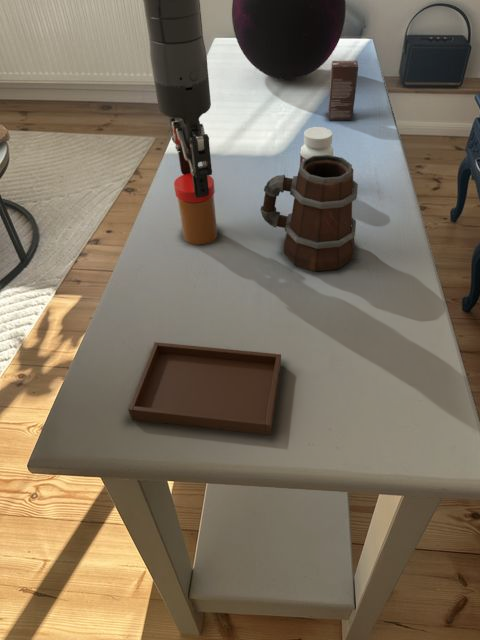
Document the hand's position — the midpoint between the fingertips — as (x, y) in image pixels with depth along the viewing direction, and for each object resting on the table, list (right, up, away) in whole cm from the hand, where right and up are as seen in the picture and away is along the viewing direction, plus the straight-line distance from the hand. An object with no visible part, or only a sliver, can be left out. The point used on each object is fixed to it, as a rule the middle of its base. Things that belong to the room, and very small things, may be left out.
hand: (194, 184), depth 78 cm
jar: (0, -7, +7) cm, 10 cm away
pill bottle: (+21, +5, +17) cm, 28 cm away
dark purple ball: (+18, +52, +61) cm, 82 cm away
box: (+30, +31, +41) cm, 59 cm away
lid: (0, 0, 0) cm, 0 cm away
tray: (+4, -32, -16) cm, 36 cm away
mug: (+19, -10, +4) cm, 21 cm away
